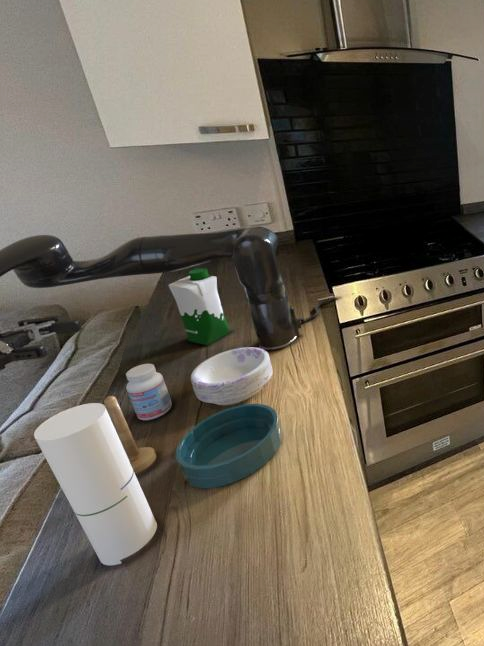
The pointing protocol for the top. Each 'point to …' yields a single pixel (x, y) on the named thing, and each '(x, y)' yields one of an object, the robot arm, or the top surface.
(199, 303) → the milk carton
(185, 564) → the top surface
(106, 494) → the cylindrical container
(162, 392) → the pill bottle
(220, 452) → the bowl
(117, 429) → the wooden peg on disc
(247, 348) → the paper bowls
